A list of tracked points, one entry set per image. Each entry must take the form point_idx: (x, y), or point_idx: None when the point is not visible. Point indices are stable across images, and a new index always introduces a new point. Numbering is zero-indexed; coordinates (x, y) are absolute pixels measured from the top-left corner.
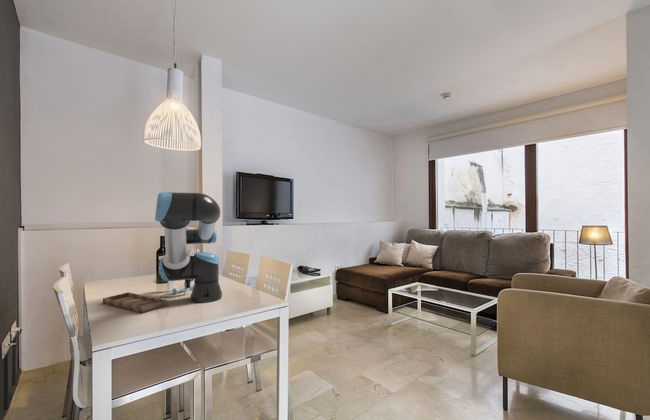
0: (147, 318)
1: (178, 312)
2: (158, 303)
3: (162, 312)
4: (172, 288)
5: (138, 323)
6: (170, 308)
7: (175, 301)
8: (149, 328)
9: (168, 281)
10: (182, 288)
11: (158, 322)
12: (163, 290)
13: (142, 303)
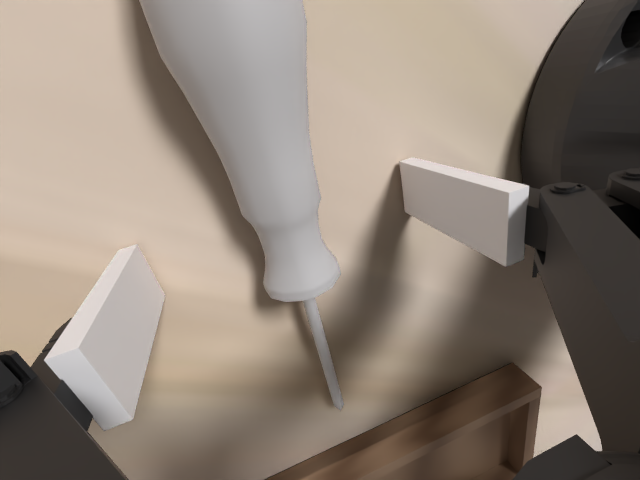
0: (565, 433)
1: None
2: (535, 422)
3: (565, 388)
4: (136, 264)
5: None
6: (557, 355)
7: (488, 311)
8: None
9: (133, 395)
10: (317, 200)
11: None
12: (25, 322)
13: (409, 471)
